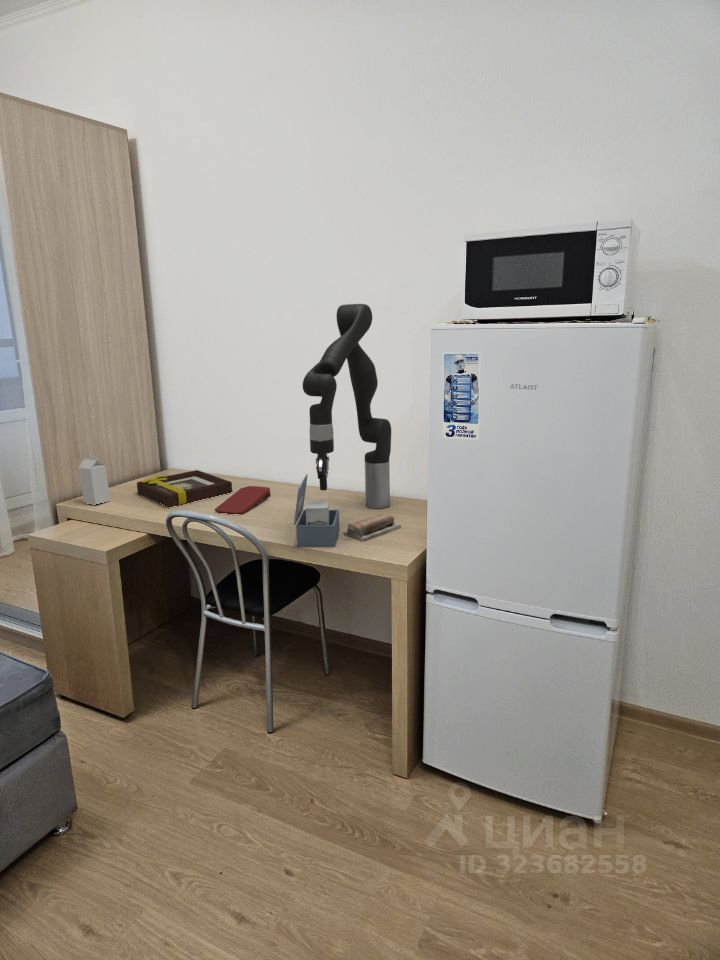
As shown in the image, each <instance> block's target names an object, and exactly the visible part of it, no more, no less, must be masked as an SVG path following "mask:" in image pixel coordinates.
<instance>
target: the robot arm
mask: <svg viewBox="0 0 720 960" xmlns="http://www.w3.org/2000/svg"><path fill="white" fill-rule="evenodd" d="M372 323H373V312H372V309H371V307H370V306H369V305H368V304H365V303H351V304H350V303H349V304H348V303H347V304H342V305H339V306H338V308H337V310H336V325H337V329H338V332H339V335H340V336H339V337H338V338H337V339H335V340H334V341H332V343H330V345H329V346H328V347H327V348H326V349H325V351H324V353H323V355H322V357H321V359H320V360H319V362H317V363H316V364H315V365H314V366H312V368H311V369H310V370H309V371H308V372H307V373H306V375H304V377H303V380H302V390H303V392H304V394H305V395H307V396H309V397H319V398H320V397H321V399H320V402H319V403H315V404H311V405H310V406H309V449H310V450H309V452H310V453H312V454H316V455H317V456H316V458H315V465H316V467H315V468H316V474H317V475H316V476H317V479H319V490H320V491H327V489H328V476H329V467H330V466H329V462H330V456H328V454H330V453H333V452H334V450H335V445H334V443H335V439H334V427H333V412H332V411H333V405H334V401H335V397H336V393H337V386H338V385H337V381H336V378H335V377H337V375H339V373H340V371H341V370H342V368H343V366H344V363H346V360H347V365H348V372H349V377H350V383H351V385H352V386H351V388H352V392H353V396H354V400H355V406H356V408H355V409H356V417H357V426H358V434H359V436H360V439H361V440H362V441H363V442H365V443H369V444H375V448H374V450H371V451H367V452H365V454H364V484H365V486H364V488H365V493H364V494H365V496H364V497H365V507H367V508H369V509H375V510H376V509H377V510H378V509H386V508H388V507H389V506H391V487H390V486H391V483H390V482H391V478H390V477H391V476H390V475H391V474H390V470H391V469H390V455H391V452H392V425H391V422H390V421H389V420H388V419H386V418H379V417H373V416H372V411H371V409H372V408H371V405H372V400H373V398H374V397H375V394H376V391H377V390H378V389H377V388H378V385H379V384H378V376H377V370H376V366H375V363H374V362H373V360H372V359H371V358H370V356H369V355H368V354H367V353H366V352H365V350H364V349H363V348H362V347H361V345H360V343H359V342H360V341H362V340H361V339H363V338H364V336H365V334H366V333H367V332H368V331H369V329H370V328H371V325H372Z"/></svg>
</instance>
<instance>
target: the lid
mask: <svg viewBox="0 0 720 960" xmlns="http://www.w3.org/2000/svg"><path fill="white" fill-rule="evenodd" d="M308 476H309V475H308V474H305V476H304V478H303V479H302V481H301V483H300V485H299V486H298V489H297V496H296V505H295V511H294V521H293V526H296V525H297V523H298V521H299V519H300V517H301V514H302V512H303V510H304V506H305V500H306V499H305V497H306V492H307V491H306V490H307V483H308Z"/></svg>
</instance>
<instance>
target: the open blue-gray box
mask: <svg viewBox="0 0 720 960" xmlns="http://www.w3.org/2000/svg"><path fill="white" fill-rule="evenodd" d="M295 529H296V534H295V535H296V547H297V548H298V547H300V548H301V547H302V548H303V547H304V548H309V547H311V548H312V547H313V548H314V547H317V548H321V547H322V548H327V547H328V548H329V547H330V548H333V547H336V544H337V541H338V537H339V534H338V533H340V531H341V530H340V509H329V525H306V509H303V510H302V512H301V515H300V517H299V519H298V521H297V523H296V525H295Z"/></svg>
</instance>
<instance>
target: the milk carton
mask: <svg viewBox="0 0 720 960" xmlns="http://www.w3.org/2000/svg"><path fill="white" fill-rule="evenodd" d="M78 473H79V479H80V480H79V481H80V486H81V493H82V500H83V501H82V502H83V504H84V503H89V504H94V505H96V504H99V503H102V502H106V501H109V502H111V495H110V487H109V482H108V474H107V466H106V464H105V463H103V462H102V461H100V459H99V458H98V457H97V456H94V455H93V456H91V455H84V458H83V460H82V461H81V463H80V465H79V466H78ZM106 503H107V502H106ZM94 505H93V506H94Z"/></svg>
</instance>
